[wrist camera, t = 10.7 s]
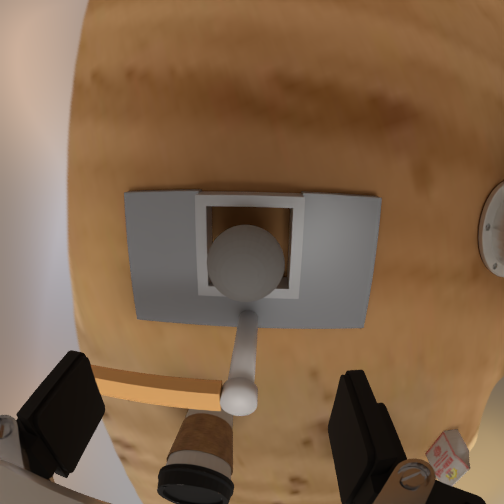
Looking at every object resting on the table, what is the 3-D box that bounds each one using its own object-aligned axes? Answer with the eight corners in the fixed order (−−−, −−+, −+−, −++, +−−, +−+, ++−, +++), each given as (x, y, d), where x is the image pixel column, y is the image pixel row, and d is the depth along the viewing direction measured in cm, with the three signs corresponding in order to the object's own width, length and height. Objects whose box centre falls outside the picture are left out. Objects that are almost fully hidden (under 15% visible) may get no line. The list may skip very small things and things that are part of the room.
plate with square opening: (376, 196, 29) (437, 220, 17) (359, 321, 33) (395, 392, 21) (130, 190, 30) (60, 211, 18) (141, 313, 34) (95, 376, 22)
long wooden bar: (81, 359, 21) (73, 369, 20) (257, 377, 21) (257, 391, 19) (90, 382, 22) (82, 393, 21) (257, 402, 21) (257, 416, 20)
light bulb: (261, 199, 29) (258, 218, 20) (291, 251, 31) (302, 292, 21) (209, 229, 30) (183, 262, 21) (240, 278, 32) (229, 328, 22)
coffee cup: (210, 379, 36) (187, 476, 22) (255, 414, 38) (249, 507, 23) (169, 404, 38) (138, 489, 24) (212, 435, 40) (196, 518, 25)
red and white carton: (457, 429, 39) (476, 466, 29) (439, 451, 41) (455, 487, 31) (443, 430, 39) (462, 470, 29) (425, 453, 41) (440, 491, 31)
